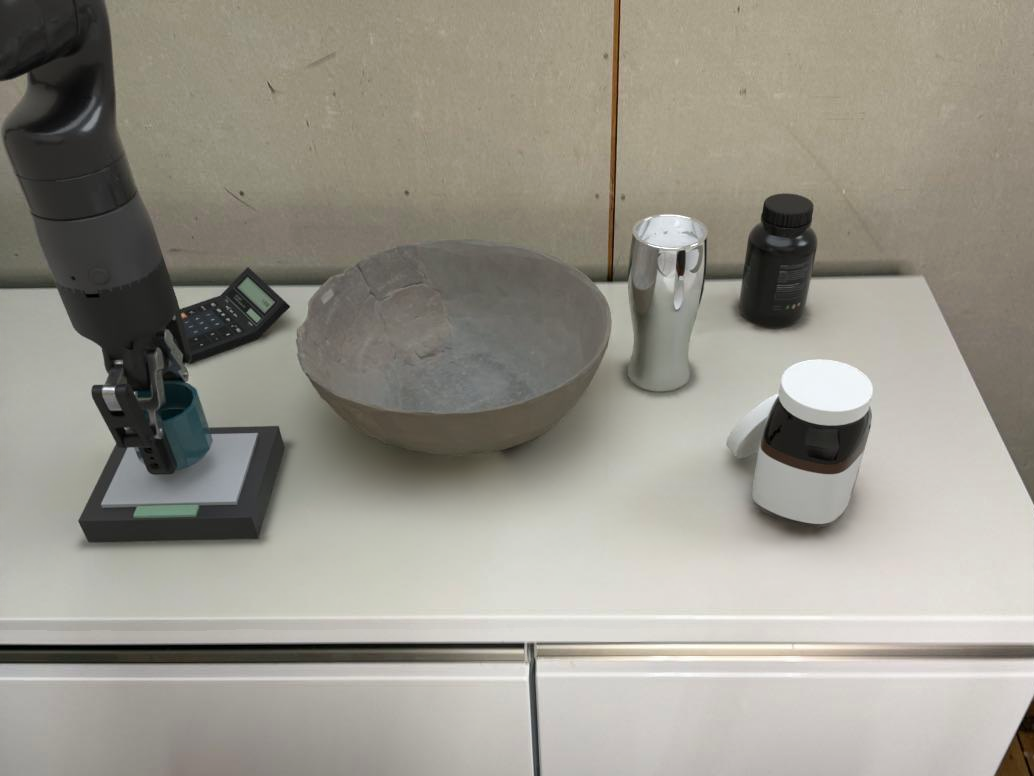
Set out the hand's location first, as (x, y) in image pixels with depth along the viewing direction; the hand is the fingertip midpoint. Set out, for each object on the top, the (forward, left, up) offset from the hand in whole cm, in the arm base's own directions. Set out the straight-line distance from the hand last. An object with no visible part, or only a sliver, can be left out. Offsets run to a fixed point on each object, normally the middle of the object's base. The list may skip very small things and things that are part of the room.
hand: (174, 445), depth 79 cm
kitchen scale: (0, 0, -5) cm, 5 cm away
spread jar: (+51, -1, -5) cm, 51 cm away
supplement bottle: (+55, +27, -5) cm, 62 cm away
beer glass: (+42, +16, -5) cm, 45 cm away
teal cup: (0, 0, -1) cm, 1 cm away
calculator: (-3, +27, -5) cm, 28 cm away
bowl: (+23, +12, -5) cm, 26 cm away
